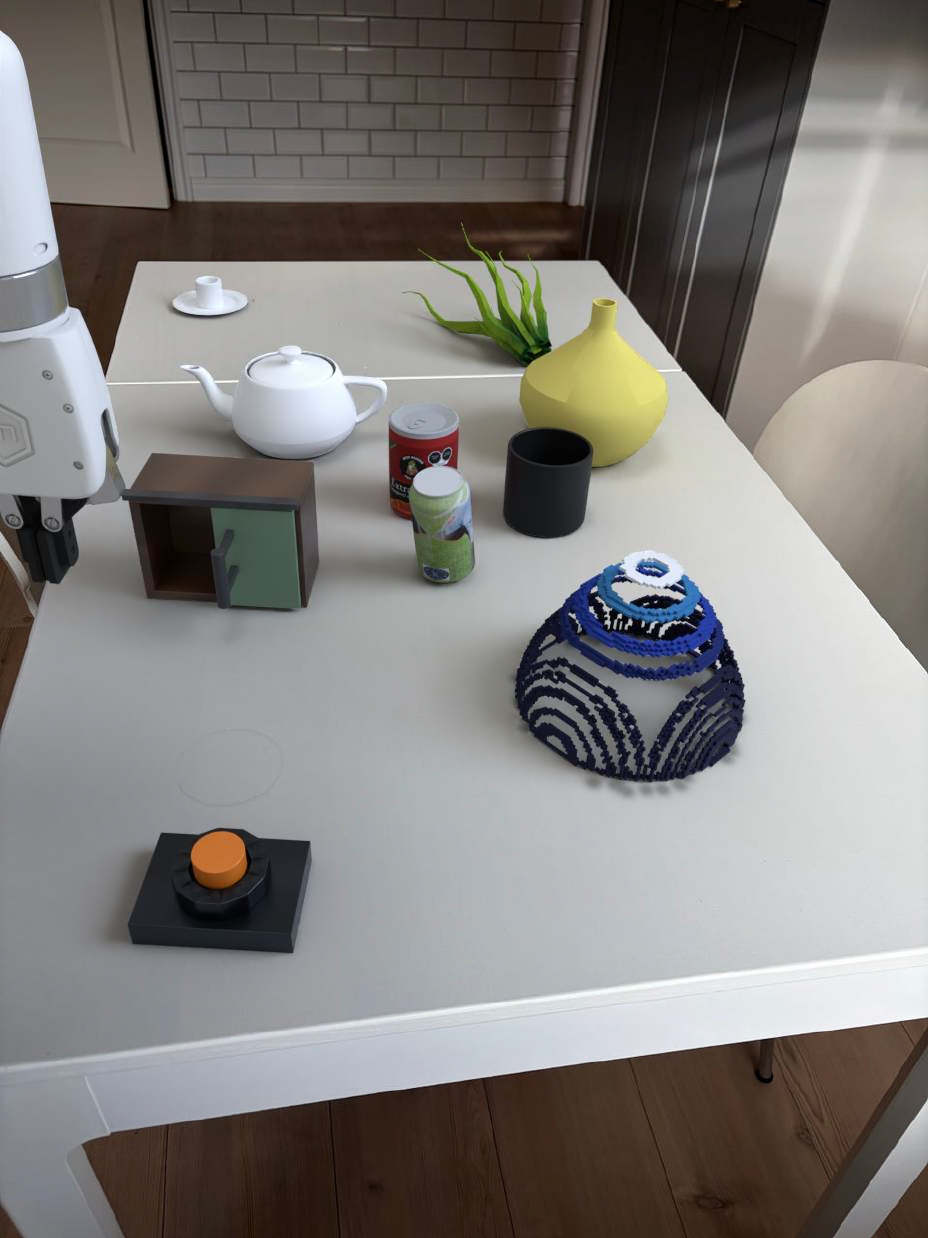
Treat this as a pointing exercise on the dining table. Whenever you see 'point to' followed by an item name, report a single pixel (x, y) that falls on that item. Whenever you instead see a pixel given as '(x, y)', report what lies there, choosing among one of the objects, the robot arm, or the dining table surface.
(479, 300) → the decorative plant
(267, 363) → the teapot
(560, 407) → the vase
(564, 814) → the dining table surface
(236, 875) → the button
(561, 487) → the mug
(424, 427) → the canned food
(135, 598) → the dining table surface
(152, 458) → the closet
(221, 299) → the candle holder
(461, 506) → the beverage can
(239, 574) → the closet door
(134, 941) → the switch block
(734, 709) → the decorative bowl
